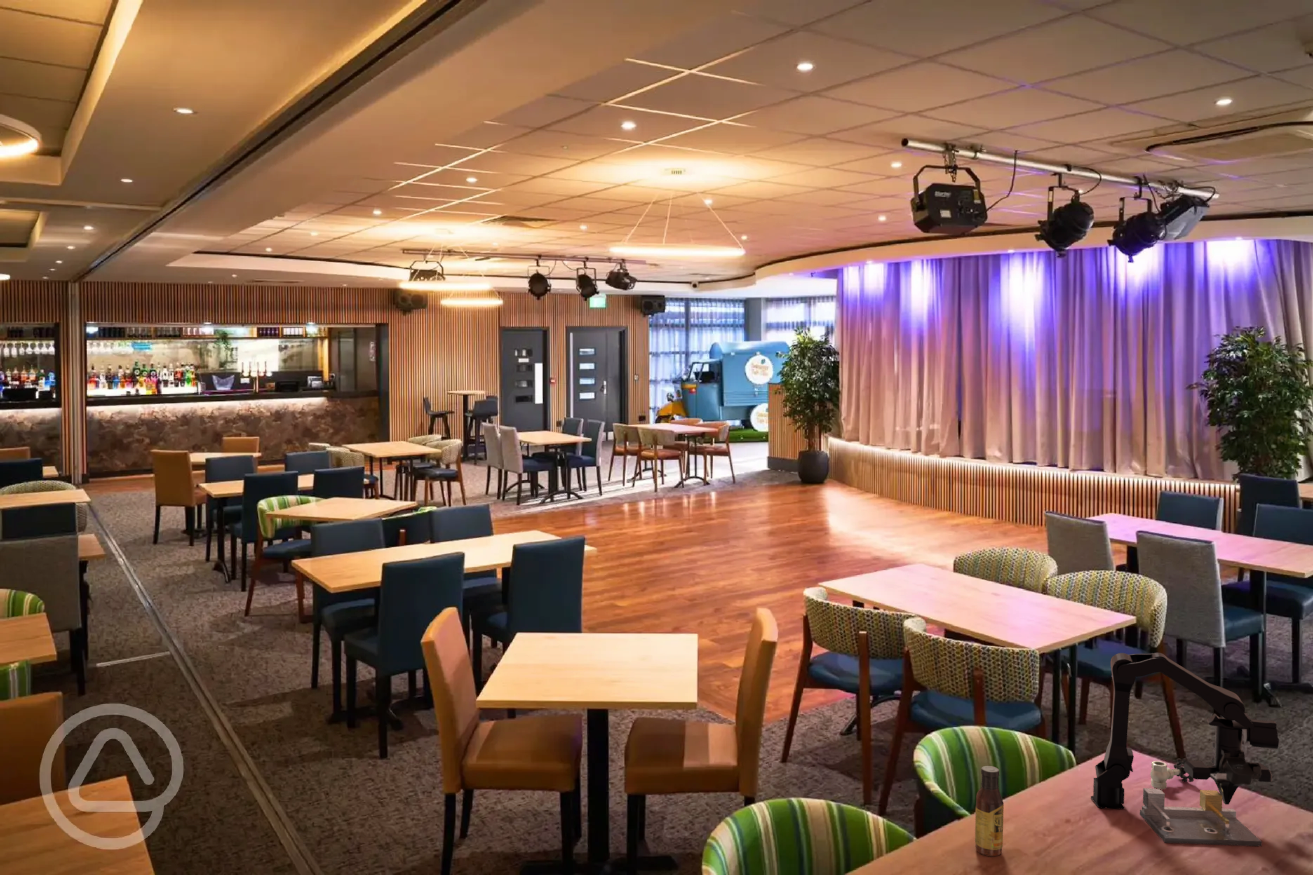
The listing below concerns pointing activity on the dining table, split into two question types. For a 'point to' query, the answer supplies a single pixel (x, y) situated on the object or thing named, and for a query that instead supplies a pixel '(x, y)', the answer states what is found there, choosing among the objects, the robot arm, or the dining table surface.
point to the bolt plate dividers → (1193, 823)
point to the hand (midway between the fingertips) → (1226, 803)
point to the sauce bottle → (989, 814)
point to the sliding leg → (1213, 804)
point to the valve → (1167, 773)
